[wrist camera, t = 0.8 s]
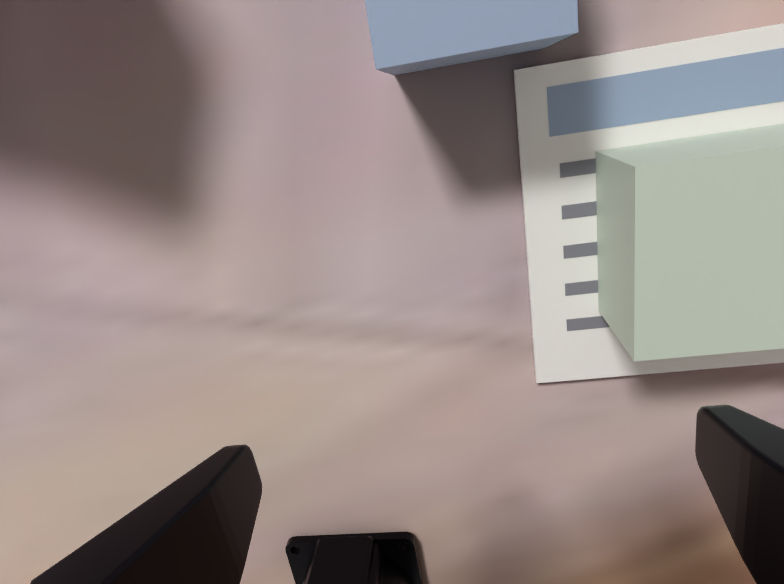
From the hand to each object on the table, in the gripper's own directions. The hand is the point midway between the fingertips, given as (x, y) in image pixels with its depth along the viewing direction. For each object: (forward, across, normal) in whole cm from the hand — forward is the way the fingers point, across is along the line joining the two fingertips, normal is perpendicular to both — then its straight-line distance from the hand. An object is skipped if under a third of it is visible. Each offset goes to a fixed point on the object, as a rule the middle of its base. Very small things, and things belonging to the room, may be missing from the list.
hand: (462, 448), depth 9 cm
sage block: (+12, -8, 0) cm, 14 cm away
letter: (+12, -8, 0) cm, 14 cm away
